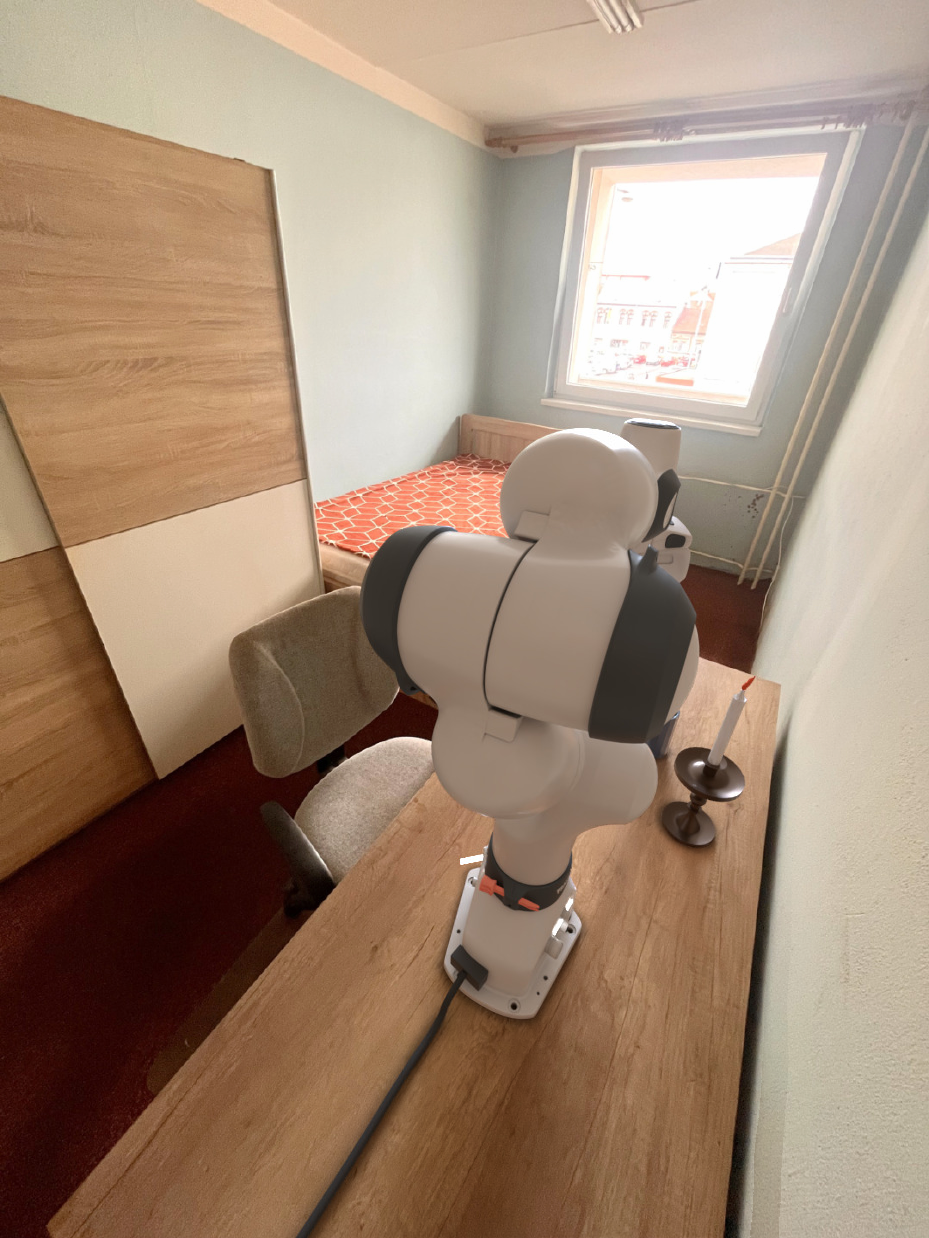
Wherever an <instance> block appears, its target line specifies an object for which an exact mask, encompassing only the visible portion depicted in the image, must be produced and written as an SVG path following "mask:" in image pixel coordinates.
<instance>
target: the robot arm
mask: <svg viewBox="0 0 929 1238" xmlns="http://www.w3.org/2000/svg"><path fill="white" fill-rule="evenodd" d="M681 441H682V429H681V427H679V426H678V425H677V424H675V423H673V422H670V421H665V420H660V419H650V418H632V419H628V420H626V421H625V422H624V423H623V425H622V427H621V430H620V432H619V435H616V434H612V433H610V432H607V431H603V430H600V429H594V428H570V429H564V430H559V431H555V432H551V433H550V434H547V435H543V436H541V437H540V438H537V439H536V440H534V441H533V442H531V443H530V444H528V445H527V446H526V447H525V448H524V449H522V450H521V451H520V452H519V453H518V455H517V456H515V458H514V459H513V460H512V462H511V464H510V465H509V466H508V469H507V470H506V473H505V475H504V477H503V480H502V483H501V488H500V492H499V514H500V518H501V522H502V525H503V528H504V530H505V532H506V534H507V536H508V537H505V536H504V537H503V536H499V535H492V534H484V533H483V534H482V533H474V532H464V531H458V530H457V529H456V528H455V527H453V526H449V525H436V524H435V525H433V524H432V525H430V524H429V525H425V524H424V525H413V526H408V527H403V528H401V529H398V530H396V531H395V532H393V533H391V534H390V535H389V536H388V538H386V540H384V542H383V543H382V544H381V546H380V547H379V548H378V550H377V551H376V552H375V553H374V554H373V556H372V558H371V559H370V561H369V563H368V566H367V568H366V570H365V571H364V575H363V579H362V582H361V586H360V591H359V601H358V608H359V609H358V611H359V616H360V621H361V624H362V627H363V630H364V633H365V636H366V638H367V641H368V643H369V645H370V646H371V649H372V650H373V652H375V654H376V655H377V656H378V657H379V658H380V659H381V660H382V661H383V662H384V664H385V665H386V666H387V667H388V668H389V669H390V670H392V672H394V674H395V678H396V681H397V685H398V687H399V689H400V691H402V693H404V694H405V695H406V696H409V697H410V696H414V695H416V694H418V693H421V694H423V695H428V696H429V697H431V699H433V701H434V702H435V704H436V705H437V709H438V715H437V718H436V722H435V725H434V728H433V732H432V736H431V744H430V753H431V754H430V755H431V761H432V766H433V769H434V773H435V775H436V777H437V779H438V781H439V783H440V785H441V786H442V788H443V790H444V791H445V792H446V794H448V795H449V797H450V798H452V800H454V801H455V802H456V803H457V804H458V805H460V806H462V807H463V808H464V809H466V810H468V811H470V812H472V813H474V814H476V815H480V816H482V817H486V818H491V819H494V820H493V830H492V832H491V834H490V838H489V840H488V844H486V846H483V848H482V854H478V855H474V856H468V857H465V858H464V857H463V858H460V863H459V864H460V865H464V864H465V865H466V864H469V863H475V862H480V861H481V863H480V867H476V868H472V869H470V870H469V871H468V873H467V875H466V879H465V883H464V886H463V890H462V894H461V896H460V897H461V898H460V900H459V904H458V908H457V912H456V916H455V919H454V923H453V926H452V930H451V933H450V937H449V940H448V944H447V947H446V952H445V955H444V959H443V969H444V971H445V974H446V975H447V976H448V978H449V979H450V981H451V983H453V984H452V985H451V986H450V988H449V990H448V991H447V994H446V995H445V997H444V999H443V1001H442V1003H441V1006H440V1008H439V1011H438V1013H437V1015H436V1017H435V1019H434V1021H433V1022H432V1025H431V1026H430V1028H429V1029H428V1030H427V1033H426V1034H425V1035H424V1037H423V1039H422V1040H421V1041H420V1043H419V1045H418V1046H417V1047H416V1049H415V1050H414V1052H413V1054H412V1055H411V1056H410V1057H409V1059H408V1061H407V1062H406V1063H405V1065H404V1066H403V1068H402V1069H401V1071H400V1073H399V1074H398V1076H397V1078H396V1079H395V1080H394V1082H393V1084H392V1085H391V1087H390V1089H389V1090H388V1092H387V1094H386V1095H385V1097H384V1098H383V1100H382V1102H381V1103H380V1105H379V1106H378V1108H377V1110H376V1111H375V1113H374V1114H373V1116H372V1118H371V1120H370V1122H369V1123H368V1124H367V1126H366V1128H365V1129H364V1131H363V1132H362V1134H361V1135H360V1137H359V1138H358V1140H357V1142H356V1144H355V1145H354V1147H353V1148H352V1150H351V1151H350V1153H349V1154H348V1156H347V1158H346V1159H345V1161H344V1162H343V1164H342V1166H341V1167H340V1169H339V1170H338V1172H337V1174H336V1175H335V1177H334V1178H333V1180H332V1182H331V1183H330V1184H329V1186H328V1188H327V1189H326V1190H325V1192H324V1194H323V1195H322V1197H321V1199H320V1200H319V1201H318V1203H317V1204H316V1206H315V1208H314V1209H313V1211H312V1212H311V1214H310V1215H309V1217H308V1218H307V1220H306V1221H305V1223H304V1224H303V1226H302V1227H301V1229H300V1230H299V1231H298V1233H297V1235H296V1236H295V1238H309V1237H310V1235H311V1233H312V1232H313V1230H314V1229H315V1227H316V1226H317V1225H318V1222H319V1221H320V1219H322V1218H321V1217H323V1215H324V1213H325V1212H326V1210H327V1208H328V1207H329V1205H330V1203H332V1201H333V1199H334V1198H335V1196H336V1194H337V1193H338V1191H339V1189H340V1188H341V1186H342V1185H343V1183H344V1181H345V1180H346V1178H347V1177H348V1176H349V1173H350V1172H351V1170H352V1169H353V1168H354V1166H355V1165H356V1162H357V1161H358V1159H359V1157H360V1156H361V1154H362V1153H363V1151H364V1149H365V1148H366V1146H367V1145H368V1143H369V1141H370V1140H371V1138H372V1137H373V1135H374V1133H375V1131H376V1130H377V1128H378V1127H379V1125H380V1123H381V1122H382V1120H383V1118H384V1117H385V1115H386V1113H387V1111H388V1110H389V1108H390V1107H391V1105H392V1103H393V1101H394V1100H395V1098H396V1096H397V1095H398V1093H399V1091H400V1090H401V1088H402V1087H403V1086H404V1083H405V1082H406V1081H407V1079H408V1077H409V1075H410V1074H411V1072H412V1070H413V1069H414V1067H415V1066H416V1065H417V1063H418V1062H419V1060H420V1059H421V1058H422V1056H423V1054H424V1053H425V1051H426V1050H427V1048H428V1047H429V1046H430V1045H431V1042H432V1041H433V1039H434V1038H435V1036H436V1034H437V1033H438V1031H439V1029H440V1027H441V1025H442V1023H443V1022H444V1020H445V1017H446V1015H447V1012H448V1010H449V1007H450V1005H451V1003H452V1002H453V999H454V998H455V996H456V994H457V992H458V991H460V992H461V993H462V994H464V995H465V996H467V998H469V999H470V1000H472V1001H473V1002H475V1003H477V1004H478V1005H480V1006H481V1007H483V1008H485V1009H487V1010H489V1011H490V1012H493V1013H495V1014H497V1015H500V1016H503V1017H506V1018H510V1019H515V1020H528V1019H533V1018H534V1017H536V1015H537V1014H538V1013H539V1010H540V1008H541V1007H542V1005H543V1003H544V1001H545V999H546V997H547V996H548V994H549V992H550V990H551V988H552V987H553V984H554V983H555V981H556V980H557V978H558V975H559V973H560V971H561V969H562V968H563V966H564V964H565V962H566V960H567V959H568V956H569V955H570V953H571V951H572V949H573V948H574V946H575V944H576V941H577V940H578V938H579V936H580V934H581V933H582V927H583V926H582V925H583V924H582V922H581V919H580V918H579V916H578V914H577V913H576V912H575V910H574V906H575V900H576V896H577V892H578V889H577V887H576V885H575V883H574V881H573V879H572V876H571V873H572V868H573V849H574V845H575V843H576V840H577V838H578V837H579V836H580V835H581V834H583V833H585V832H587V831H590V830H592V829H595V828H598V827H603V826H617V825H618V826H619V825H620V826H621V825H624V826H625V825H628V824H630V823H632V822H634V821H636V820H638V819H639V818H640V817H641V816H643V815H644V814H645V813H646V812H647V810H648V809H649V808H650V806H651V804H652V803H653V801H654V799H655V796H656V795H657V789H658V785H659V783H658V782H659V771H658V765H657V762H656V759H654V756H653V754H652V752H651V750H650V748H649V747H648V745H647V744H645V742H647V741H649V740H650V739H652V738H654V737H655V736H657V735H659V734H660V733H661V731H662V729H663V726H664V725H665V724H666V723H667V722H668V721H669V720H670V719H671V718H672V717H673V716H674V715H675V714H676V713H677V712H678V711H679V710H680V711H681V708H682V706H683V705H684V704H685V702H686V701H687V699H688V697H689V695H690V693H691V691H692V689H693V687H694V684H695V681H696V678H697V674H698V669H699V664H700V642H699V640H700V639H699V634H698V629H697V625H696V621H697V612H696V610H695V608H694V606H693V603H692V602H691V600H690V598H689V596H688V595H687V593H686V591H685V589H684V588H683V586H682V584H681V582H682V581H684V580H685V578H686V577H687V574H688V570H689V567H690V562H691V555H692V553H691V550H690V546H691V545H692V542H693V540H694V539H693V535H692V534H691V532H690V531H689V529H688V527H686V525H685V524H684V523H683V522H682V521H681V520H680V519H679V518H678V517H676V516H674V512H675V507H676V502H677V498H678V495H679V491H680V489H681V486H682V483H681V481H680V479H679V477H678V475H677V469H678V465H679V459H680V451H681V443H682V442H681ZM569 931H571V933H570V932H569ZM512 1006H515V1007H516V1009H513V1008H512Z"/></svg>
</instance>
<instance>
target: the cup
mask: <svg viewBox="0 0 929 1238" xmlns="http://www.w3.org/2000/svg"><path fill="white" fill-rule="evenodd" d="M680 716H681V709H680V710H679V711H678V712H677V713H676V714H675V715H674V716H673V717H672V718H671V719H670V720H669V721H668V722H667V723H666V724H665V725H664V726H663V729H662V731H661V733H660V734H659V735H657V736H655V737H654V738H652V739H650V740H649V741H647V742H645V744H647V745H648V747H649V748H650V750H651V752H652V754H653V756H654V759H655V760H656V759H662V758H664V757H666V755H667V754H668V751H669V748H670V745H671V742H672V739H673V736H674V733H675V730H676V728H677V725H678V722H679V719H680Z"/></svg>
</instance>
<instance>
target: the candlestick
mask: <svg viewBox="0 0 929 1238" xmlns="http://www.w3.org/2000/svg"><path fill="white" fill-rule="evenodd" d="M755 679H756V675H753V677H749V678H748V680H747V681H745V682H744V683H743V684H742V685H741V689H740V691H739V692H738V693H734V694H733V695H732V698H731V700H730V702H729V705H728V708H727V710H726V712H725V715H724V717H723V720H722V721H721V725H720V728H719V729H718V732H717V735H716V737H715V740H714V742H713V744H712V747H711V748H708V747H702V746H692V747H691V746H690V747H687V748H684V749H681V750H680V751H679V752H678V754H677V755H676V756H675V760H674V762H673V763H674V764H673V770H674V773H675V776H676V778H677V779H678V781H679V782H680V783H681V784H682V785H683V787H684V788H685V789H687V790H688V791H689V792H690V794H689V799H690V801H688V802H687V801H678V800H677V801H673V802H670V803H668V804H666V805H665V806H664V807H663V809H662V812H661V814H660V815H661V816H660V820H661V825H662V828H663V829H664V831H665V833H666V834H667V835H668V836H669V837H670V838H671V839H672V840H674V841H676V842H677V843H679V844H680V845H682V846H684V847H686V848H687V847H688V848H691V849H692V848H693V849H701V848H705V847H708V846H709V845H710V844H711V843H712V842H713V840H714V838H715V836H716V828H715V827H716V826H715V824H714V822H713V820H712V819H711V817H710V816H709V815H708V813H706V812H705V811H704V810H703V808H702V807H703V806H705V805H707V802H708V801H711V802H714V803H715V802H716V803H727V802H729V803H730V802H732V801H735V800H736V799H738V798H739V797H740V796H741V795H742V794H743V791H744V789H745V786H746V779H745V776H744V773H743V771H742V770H741V769H740V767H739V766H738V765H737V764H736V763H735V762H734V761H733V760H732V759H731V758H729V757H728V756H727V755H725V752H726V750H727V747H728V745H729V743H730V740H731V738H732V736H733V734H734V732H735V729H736V727H737V725H738V722H739V719H740V717H741V715H742V712H743V710H744V708H745V705H746V704H747V701H748V699H747V697H746V695H745V693H746V690H747V689H748V688H749V687H750V686H751V684H753V682H754V681H755Z"/></svg>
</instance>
